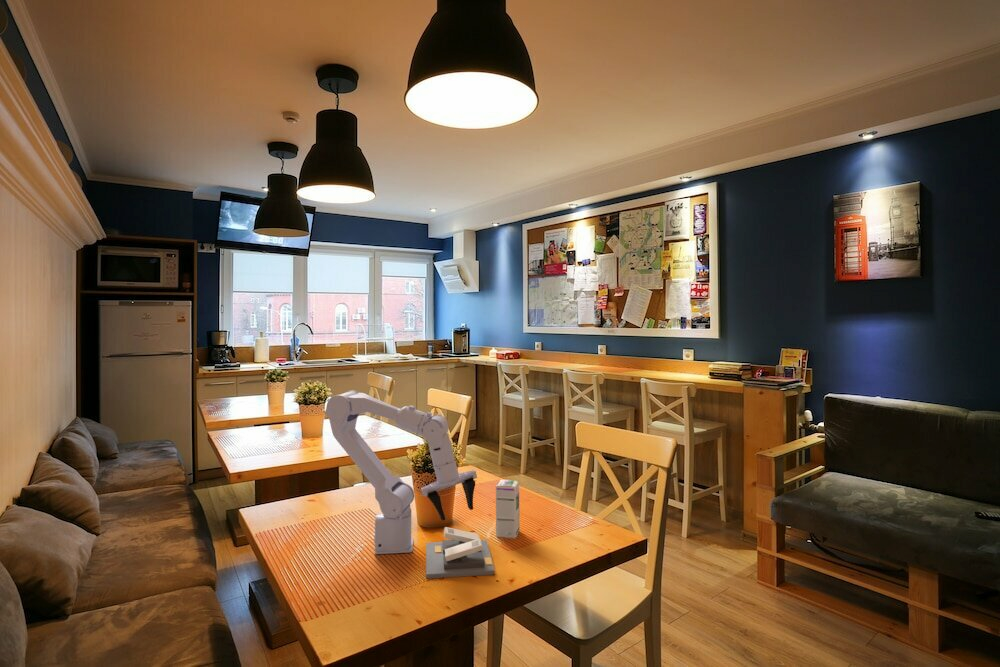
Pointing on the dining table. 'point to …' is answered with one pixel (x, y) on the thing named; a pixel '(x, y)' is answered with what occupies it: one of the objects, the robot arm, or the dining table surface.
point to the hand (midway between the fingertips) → (457, 514)
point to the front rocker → (463, 549)
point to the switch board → (457, 561)
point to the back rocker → (459, 535)
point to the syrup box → (507, 508)
